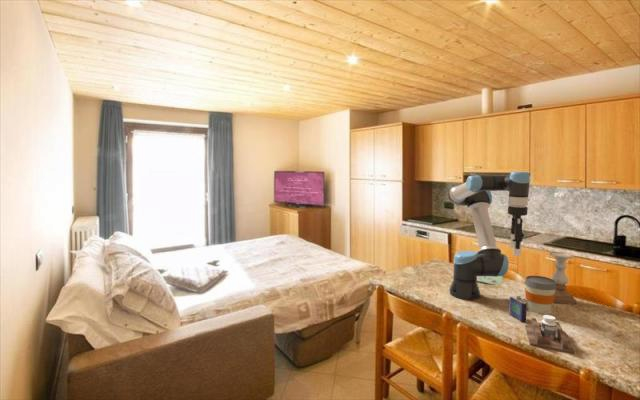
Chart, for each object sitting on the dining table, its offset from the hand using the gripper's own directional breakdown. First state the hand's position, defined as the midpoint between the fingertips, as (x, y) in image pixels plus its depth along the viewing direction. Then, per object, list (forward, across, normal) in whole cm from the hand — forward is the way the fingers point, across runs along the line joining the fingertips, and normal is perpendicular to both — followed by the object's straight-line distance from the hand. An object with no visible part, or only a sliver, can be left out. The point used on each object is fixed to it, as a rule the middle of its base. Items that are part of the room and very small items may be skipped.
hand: (515, 251), depth 148 cm
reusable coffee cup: (+30, +10, -12) cm, 34 cm away
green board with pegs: (+32, +50, +9) cm, 60 cm away
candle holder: (+31, +29, -24) cm, 48 cm away
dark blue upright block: (+30, -4, -2) cm, 31 cm away
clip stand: (+29, -20, -11) cm, 37 cm away
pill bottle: (+29, -20, -11) cm, 37 cm away
